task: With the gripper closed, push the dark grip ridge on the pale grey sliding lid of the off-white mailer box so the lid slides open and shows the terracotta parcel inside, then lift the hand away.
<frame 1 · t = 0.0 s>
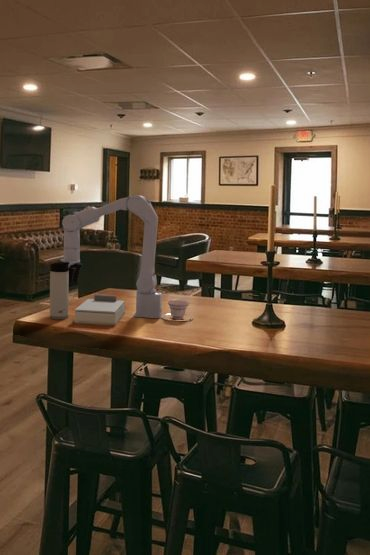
hand: (71, 284, 196), 10 cm above the table, tool pointing down, fingers open, 7 cm apart
mailer box: (100, 318, 189), on the table
teacup: (177, 319, 195), on the table
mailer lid: (101, 302, 188), point 6 cm above the table, slide at 0.0 cm
travel mug: (59, 318, 187), on the table
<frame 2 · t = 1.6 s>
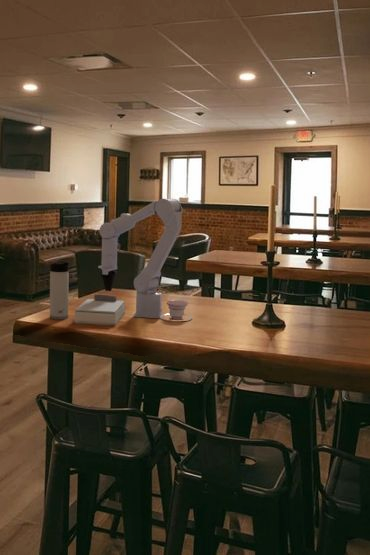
hand: (108, 290, 201), 8 cm above the table, tool pointing down, fingers closed
nothing on the table moved.
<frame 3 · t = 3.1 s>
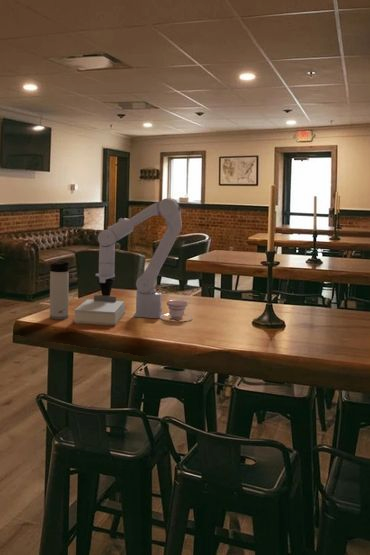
hand: (106, 298, 197), 5 cm above the table, tool pointing down, fingers closed
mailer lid: (100, 303, 188), point 6 cm above the table, slide at 0.7 cm, touching gripper
everything else where it was.
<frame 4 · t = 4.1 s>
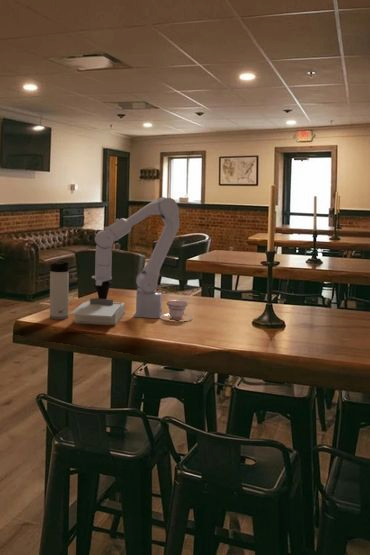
hand: (102, 302, 191), 5 cm above the table, tool pointing down, fingers closed
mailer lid: (96, 306, 182), point 6 cm above the table, slide at 6.4 cm, touching gripper
everything else where it was.
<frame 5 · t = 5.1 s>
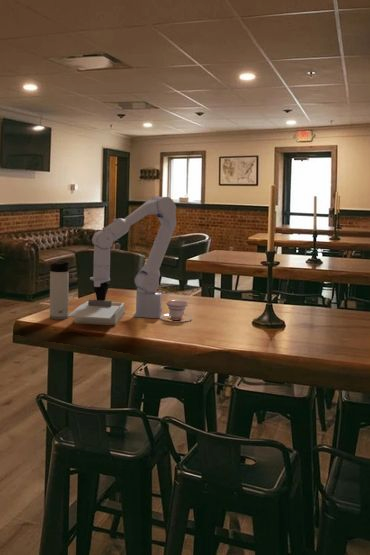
hand: (101, 303, 188), 5 cm above the table, tool pointing down, fingers closed
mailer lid: (95, 308, 179), point 6 cm above the table, slide at 9.2 cm, touching gripper
everything else where it was.
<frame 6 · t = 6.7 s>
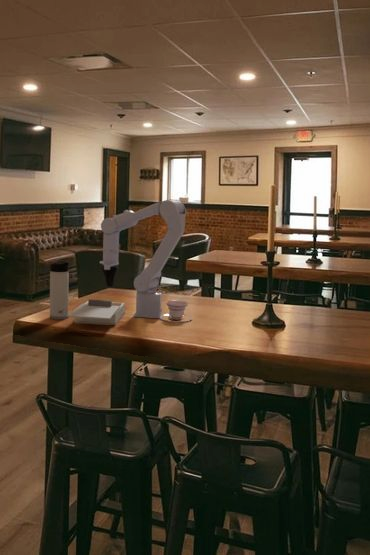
hand: (110, 286, 200), 9 cm above the table, tool pointing down, fingers closed
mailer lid: (95, 308, 179), point 6 cm above the table, slide at 9.2 cm
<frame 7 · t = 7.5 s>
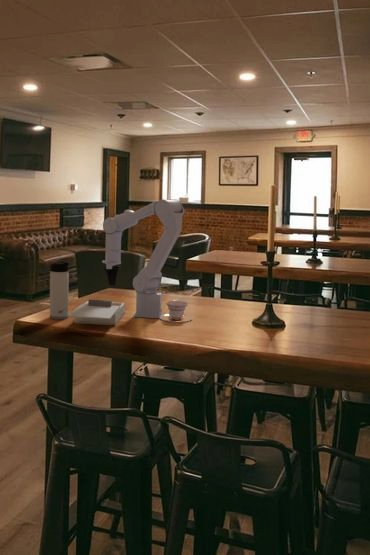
hand: (112, 285, 202), 9 cm above the table, tool pointing down, fingers closed
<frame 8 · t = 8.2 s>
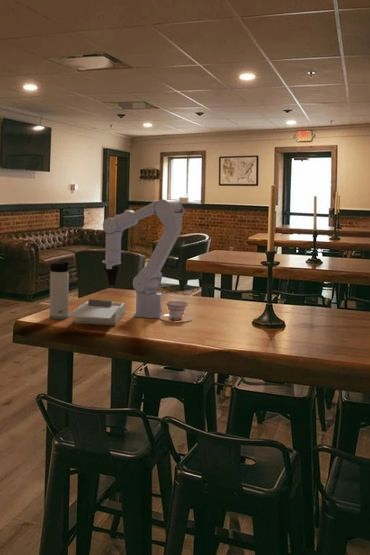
hand: (112, 285, 202), 9 cm above the table, tool pointing down, fingers closed
at the end: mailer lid slide at 9.2 cm; travel mug moved 0.2 cm from its start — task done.
